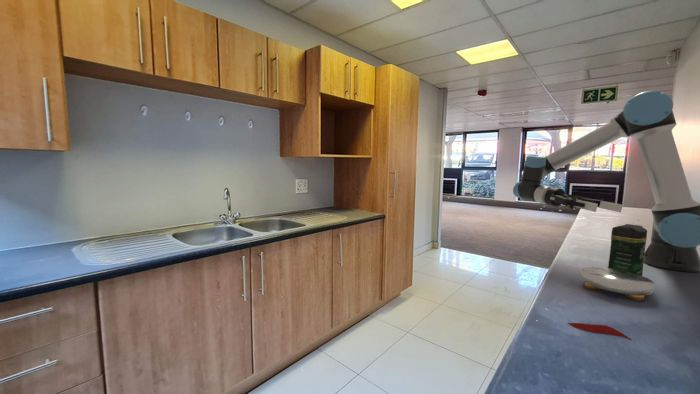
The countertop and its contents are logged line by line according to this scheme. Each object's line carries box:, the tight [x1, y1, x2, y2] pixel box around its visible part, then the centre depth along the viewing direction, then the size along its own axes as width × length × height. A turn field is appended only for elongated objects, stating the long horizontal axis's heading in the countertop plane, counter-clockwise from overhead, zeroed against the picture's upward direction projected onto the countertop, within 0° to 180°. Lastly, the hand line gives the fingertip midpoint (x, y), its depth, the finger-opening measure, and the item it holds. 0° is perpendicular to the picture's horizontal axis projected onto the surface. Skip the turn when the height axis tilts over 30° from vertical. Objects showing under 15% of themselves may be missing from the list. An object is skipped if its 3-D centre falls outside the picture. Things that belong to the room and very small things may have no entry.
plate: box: [580, 266, 655, 302], centre depth 88 cm, size 16×16×4 cm
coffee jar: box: [607, 223, 648, 276], centre depth 95 cm, size 10×8×19 cm
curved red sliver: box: [567, 322, 632, 341], centre depth 66 cm, size 12×5×2 cm, turn 44°
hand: (609, 208), depth 101 cm, fingers open, 13 cm apart
